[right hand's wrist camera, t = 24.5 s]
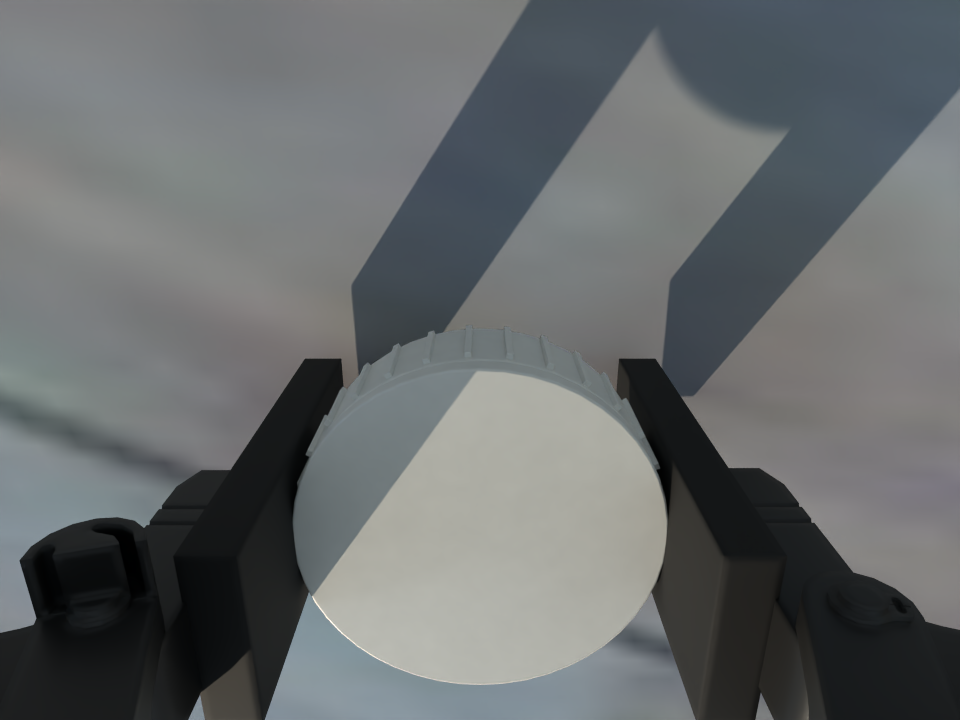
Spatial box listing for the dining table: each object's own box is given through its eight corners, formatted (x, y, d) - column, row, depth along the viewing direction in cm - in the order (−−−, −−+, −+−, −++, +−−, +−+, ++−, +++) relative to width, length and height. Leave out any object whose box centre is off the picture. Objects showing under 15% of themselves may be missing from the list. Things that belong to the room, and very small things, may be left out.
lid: (245, 483, 12) (207, 545, 11) (478, 248, 11) (477, 276, 9) (481, 661, 14) (481, 742, 12) (715, 478, 12) (753, 540, 11)
